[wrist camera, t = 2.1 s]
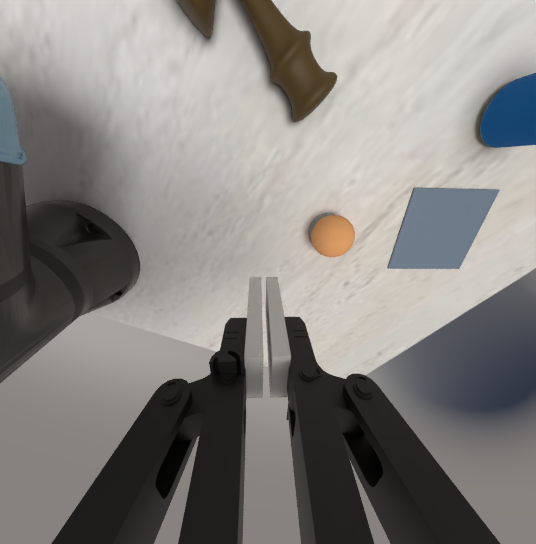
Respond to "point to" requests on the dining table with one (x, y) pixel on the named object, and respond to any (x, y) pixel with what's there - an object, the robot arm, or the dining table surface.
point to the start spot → (317, 221)
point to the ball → (333, 236)
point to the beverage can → (511, 115)
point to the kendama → (277, 52)
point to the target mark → (440, 227)
